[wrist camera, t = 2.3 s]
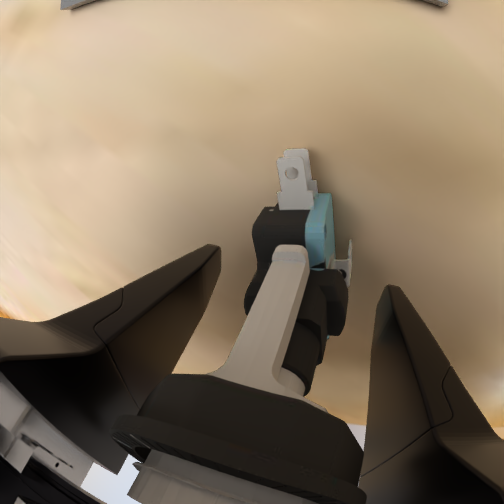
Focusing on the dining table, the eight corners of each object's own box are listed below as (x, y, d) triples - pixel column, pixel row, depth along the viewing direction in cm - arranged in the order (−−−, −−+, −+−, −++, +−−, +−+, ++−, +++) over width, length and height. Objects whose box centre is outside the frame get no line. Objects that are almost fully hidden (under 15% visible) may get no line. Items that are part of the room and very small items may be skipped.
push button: (227, 151, 11) (-17, 385, 3) (382, 141, 9) (402, 567, 1) (259, 295, 14) (158, 508, 6) (378, 301, 12) (340, 556, 4)
